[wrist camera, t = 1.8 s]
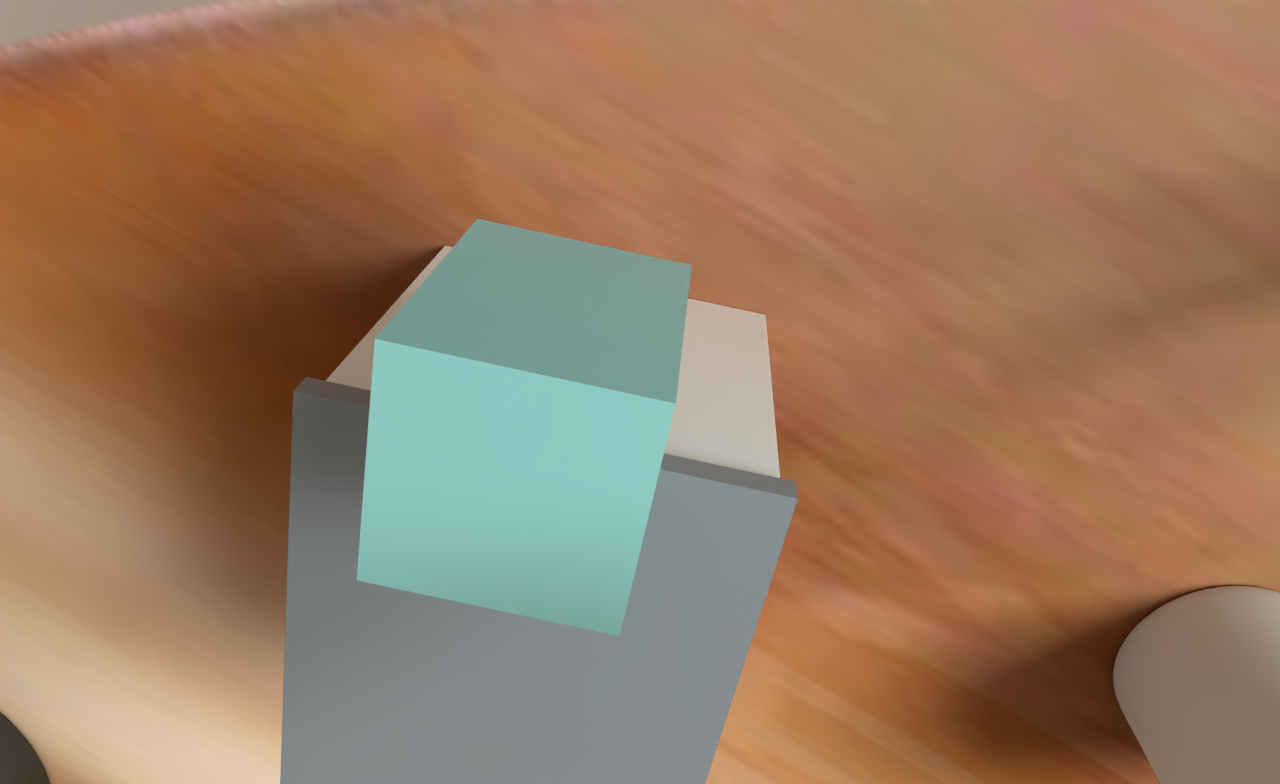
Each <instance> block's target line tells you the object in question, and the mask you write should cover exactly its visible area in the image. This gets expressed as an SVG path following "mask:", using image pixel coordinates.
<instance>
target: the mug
mask: <svg viewBox="0 0 1280 784" xmlns="http://www.w3.org/2000/svg"><path fill="white" fill-rule="evenodd" d="M1113 683H1114V691H1115V694H1116V697H1117V700H1118V703H1119V705H1120V708H1121V710H1122V712H1123V714H1124V716H1125V718H1126V720H1127V721H1128V723H1129V725H1130V727H1131V729H1132V731H1133V733H1134V734H1135V736H1136V738H1137V740H1138V742H1139V744H1140V746H1141V748H1142V749H1143V751H1144V753H1145V755H1146V757H1147V759H1148V761H1149V763H1150V765H1151V767H1152V769H1153V771H1154V773H1155V775H1156V777H1157V779H1158V781H1159V783H1160V784H1280V593H1279V592H1277V591H1273V590H1269V589H1265V588H1259V587H1251V586H1224V587H1215V588H1210V589H1204V590H1200V591H1197V592H1193V593H1190V594H1187V595H1184V596H1182V597H1179V598H1177V599H1175V600H1172V601H1170V602H1168V603H1166V604H1164V605H1163V606H1161V607H1160V608H1158V609H1156V610H1155V611H1153V612H1152V613H1150V614H1149V615H1148V616H1147V617H1145V618H1144V619H1143V620H1142V621H1141V622H1140V623H1139V624H1138V625H1137V626H1136V627H1135V628H1134V629H1133V630H1132V631H1131V632H1130V634H1129V635H1128V636H1127V637H1126V639H1125V641H1124V642H1123V644H1122V646H1121V647H1120V649H1119V652H1118V654H1117V657H1116V659H1115V664H1114V668H1113Z"/></svg>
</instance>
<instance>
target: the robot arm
mask: <svg viewBox="0 0 1280 784" xmlns="http://www.w3.org/2000/svg"><path fill="white" fill-rule="evenodd" d="M0 784H50V783H49V779H48V777H47V774H46V772H45V769H44V767H43V765H42V763H41V762H40V760H39V758H38V756H37V755H36V753H35V752H34V750H33V749H32V747H31V746H30V745H29V743H28V742H27V741H26V740H25V738H24V737H23V736H22V735H21V734H20V733H19V731H18V730H17V729H16V728H15V727H14V726H13V725H12V724H11V723H10V722H9V721H8V720H6V719H5V718H4V717H3V716H2V715H1V714H0Z"/></svg>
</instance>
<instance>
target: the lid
mask: <svg viewBox="0 0 1280 784" xmlns="http://www.w3.org/2000/svg"><path fill="white" fill-rule="evenodd" d="M691 266H692V265H688V264H683V263H679V262H674V261H669V260H665V259H660V258H656V257H651V256H646V255H642V254H637V253H633V252H628V251H623V250H619V249H614V248H609V247H605V246H600V245H596V244H591V243H586V242H582V241H577V240H573V239H568V238H563V237H559V236H554V235H549V234H545V233H540V232H536V231H531V230H526V229H522V228H517V227H513V226H508V225H503V224H499V223H494V222H489V221H485V220H480V219H477V220H476V221H475V222H474V224H473V225H472V226H471V227H470V228H469V229H468V231H467V232H466V233H465V234H464V235H463V236H462V238H461V239H460V240H459V241H458V242H457V243H456V245H455V246H454V247H453V248H452V249H451V250H450V252H449V253H448V254H447V255H446V256H445V257H444V259H443V260H442V261H441V262H440V263H439V264H438V266H437V267H436V268H435V269H434V270H433V271H432V273H431V274H430V275H429V276H428V277H427V278H426V280H425V281H424V282H423V283H422V284H421V285H420V287H419V288H418V289H417V290H416V291H415V292H414V294H413V295H412V296H411V297H410V298H409V299H408V301H407V302H406V303H405V304H404V305H403V306H402V308H401V309H400V310H399V311H398V312H397V313H396V315H395V316H394V317H393V318H392V319H391V320H390V322H389V323H388V324H387V325H386V326H385V327H384V329H383V330H382V331H381V332H380V333H379V334H378V336H377V337H376V338H375V342H374V355H373V369H372V382H371V390H366V389H361V388H357V387H352V386H347V385H343V384H338V383H333V382H329V381H324V380H319V379H315V378H310V377H306V378H305V379H304V380H303V381H302V382H301V383H300V384H299V385H298V386H297V387H296V388H295V389H294V390H293V414H292V444H291V475H290V505H289V536H288V566H287V597H286V627H285V658H284V688H283V718H282V749H281V779H280V784H705V782H706V779H707V776H708V773H709V770H710V767H711V764H712V761H713V758H714V755H715V752H716V749H717V745H718V742H719V739H720V736H721V733H722V730H723V727H724V724H725V721H726V718H727V715H728V712H729V709H730V705H731V702H732V699H733V696H734V693H735V690H736V687H737V684H738V681H739V678H740V675H741V672H742V669H743V665H744V662H745V659H746V656H747V653H748V650H749V647H750V644H751V641H752V638H753V635H754V632H755V628H756V625H757V622H758V619H759V616H760V613H761V610H762V607H763V604H764V601H765V598H766V595H767V592H768V588H769V585H770V582H771V579H772V576H773V573H774V570H775V567H776V564H777V561H778V558H779V555H780V551H781V548H782V545H783V542H784V539H785V536H786V533H787V530H788V527H789V524H790V521H791V518H792V515H793V511H794V508H795V505H796V502H797V499H798V498H797V489H796V482H795V481H790V480H786V479H781V478H776V477H772V476H767V475H762V474H758V473H753V472H748V471H744V470H739V469H734V468H730V467H725V466H720V465H716V464H711V463H706V462H702V461H697V460H692V459H688V458H683V457H678V456H674V455H669V454H664V450H665V446H666V442H667V438H668V434H669V430H670V426H671V422H672V417H673V413H674V409H675V405H676V398H677V389H678V380H679V371H680V363H681V354H682V345H683V336H684V328H685V319H686V310H687V301H688V293H689V284H690V275H691Z"/></svg>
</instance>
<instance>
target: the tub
mask: <svg viewBox="0 0 1280 784" xmlns="http://www.w3.org/2000/svg"><path fill="white" fill-rule="evenodd" d="M452 248H453V247H449V246H444V247H443V249H442V250H441V251H440V252H439V253H438V254H437V255H436V257H435V258H434V259H433V260H432V261H431V262H430V263H429V264H428V266H427V267H426V268H425V269H424V270H423V271H422V272H421V273H420V275H419V276H418V277H417V278H416V279H415V280H414V281H413V282H412V284H411V285H410V286H409V287H408V288H407V289H406V290H405V292H404V293H403V294H402V295H401V296H400V297H399V298H398V299H397V301H396V302H395V303H394V304H393V305H392V306H391V307H390V308H389V310H388V311H387V312H386V313H385V314H384V315H383V316H382V317H381V319H380V320H379V321H378V322H377V323H376V324H375V325H374V327H373V328H372V329H371V330H370V331H369V332H368V333H367V334H366V336H365V337H364V338H363V339H362V340H361V341H360V342H359V343H358V345H357V346H356V347H355V348H354V349H353V350H352V351H351V352H350V354H349V355H348V356H347V357H346V358H345V359H344V360H343V362H342V363H341V364H340V365H339V366H338V367H337V368H336V369H335V371H334V372H333V373H332V374H331V375H330V376H329V377H328V378H327V380H326V381H329V382H333V383H338V384H343V385H347V386H352V387H357V388H361V389H366V390H371V382H372V369H373V355H374V342H375V338H376V337H377V336H378V334H379V333H380V332H381V331H382V330H383V329H384V327H385V326H386V325H387V324H388V323H389V322H390V320H391V319H392V318H393V317H394V316H395V315H396V313H397V312H398V311H399V310H400V309H401V308H402V306H403V305H404V304H405V303H406V302H407V301H408V299H409V298H410V297H411V296H412V295H413V294H414V292H415V291H416V290H417V289H418V288H419V287H420V285H421V284H422V283H423V282H424V281H425V280H426V278H427V277H428V276H429V275H430V274H431V273H432V271H433V270H434V269H435V268H436V267H437V266H438V264H439V263H440V262H441V261H442V260H443V259H444V257H445V256H446V255H447V254H448V253H449V252H450V250H451V249H452ZM664 454H669V455H674V456H678V457H683V458H688V459H692V460H697V461H702V462H706V463H711V464H716V465H720V466H725V467H730V468H734V469H739V470H744V471H748V472H753V473H758V474H762V475H767V476H772V477H776V478H780V473H779V461H778V450H777V439H776V428H775V416H774V405H773V394H772V382H771V371H770V360H769V349H768V337H767V326H766V315H763V314H759V313H754V312H749V311H745V310H740V309H736V308H731V307H726V306H722V305H717V304H712V303H708V302H703V301H699V300H694V299H689V298H688V301H687V310H686V319H685V328H684V336H683V345H682V354H681V363H680V371H679V380H678V389H677V398H676V405H675V409H674V413H673V417H672V422H671V426H670V430H669V434H668V438H667V442H666V446H665V450H664Z"/></svg>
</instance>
